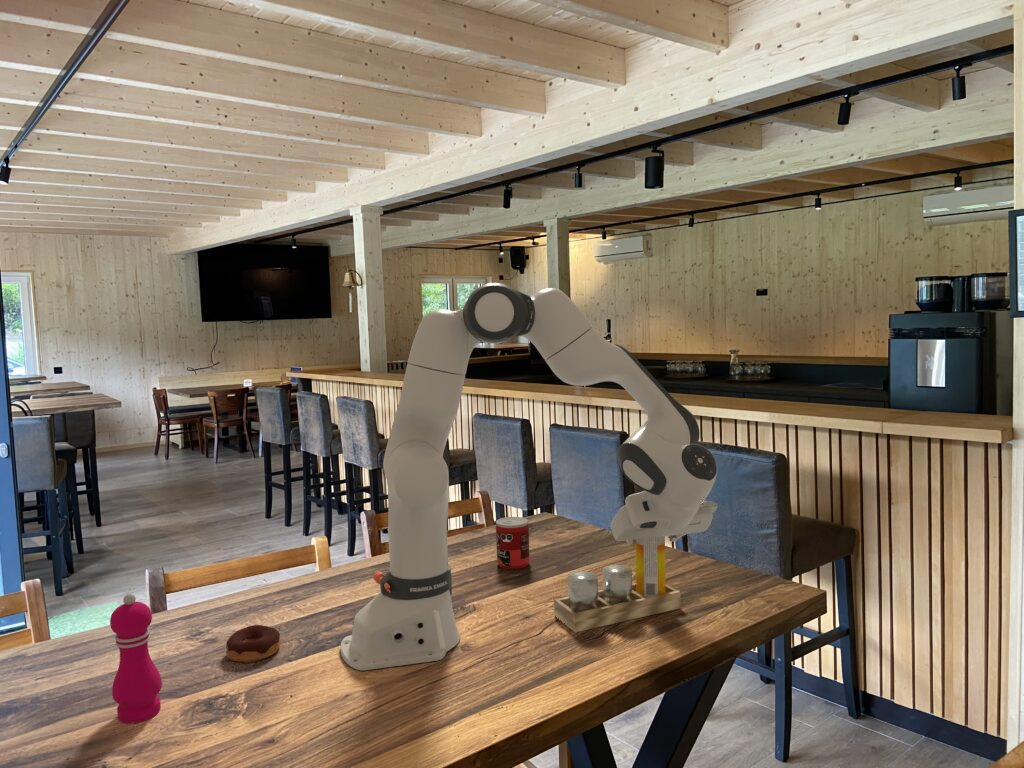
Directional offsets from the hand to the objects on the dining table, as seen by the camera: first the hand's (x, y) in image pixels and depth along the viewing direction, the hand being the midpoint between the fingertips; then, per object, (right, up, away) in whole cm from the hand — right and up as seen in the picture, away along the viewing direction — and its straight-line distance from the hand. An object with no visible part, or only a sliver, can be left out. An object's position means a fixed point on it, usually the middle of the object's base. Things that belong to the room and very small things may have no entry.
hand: (651, 540), depth 159 cm
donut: (-78, -19, -14) cm, 81 cm away
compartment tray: (-7, -15, -1) cm, 16 cm away
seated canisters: (-11, -13, -2) cm, 17 cm away
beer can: (0, -12, +2) cm, 12 cm away
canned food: (-28, -12, +30) cm, 43 cm away
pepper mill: (-89, -21, -35) cm, 98 cm away
